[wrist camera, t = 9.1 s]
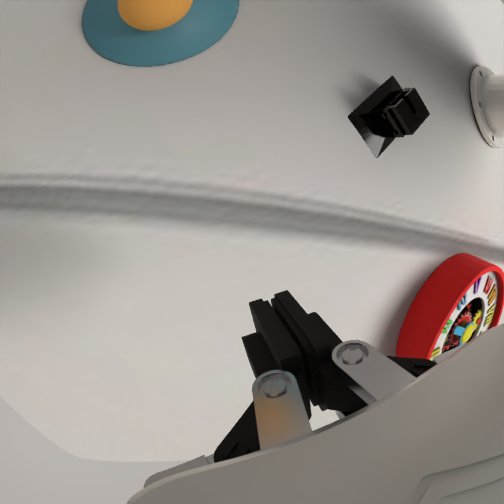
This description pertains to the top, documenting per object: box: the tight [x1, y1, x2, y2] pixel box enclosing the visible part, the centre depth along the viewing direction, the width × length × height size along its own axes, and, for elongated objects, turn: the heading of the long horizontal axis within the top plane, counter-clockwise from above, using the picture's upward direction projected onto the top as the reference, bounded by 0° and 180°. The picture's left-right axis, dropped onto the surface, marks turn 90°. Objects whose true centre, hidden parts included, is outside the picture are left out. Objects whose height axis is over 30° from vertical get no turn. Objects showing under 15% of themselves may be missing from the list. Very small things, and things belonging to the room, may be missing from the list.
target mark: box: [83, 0, 239, 66], centre depth 15 cm, size 13×13×1 cm
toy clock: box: [396, 253, 504, 361], centre depth 32 cm, size 20×6×20 cm
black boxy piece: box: [348, 76, 430, 158], centre depth 22 cm, size 12×7×5 cm, turn 133°
